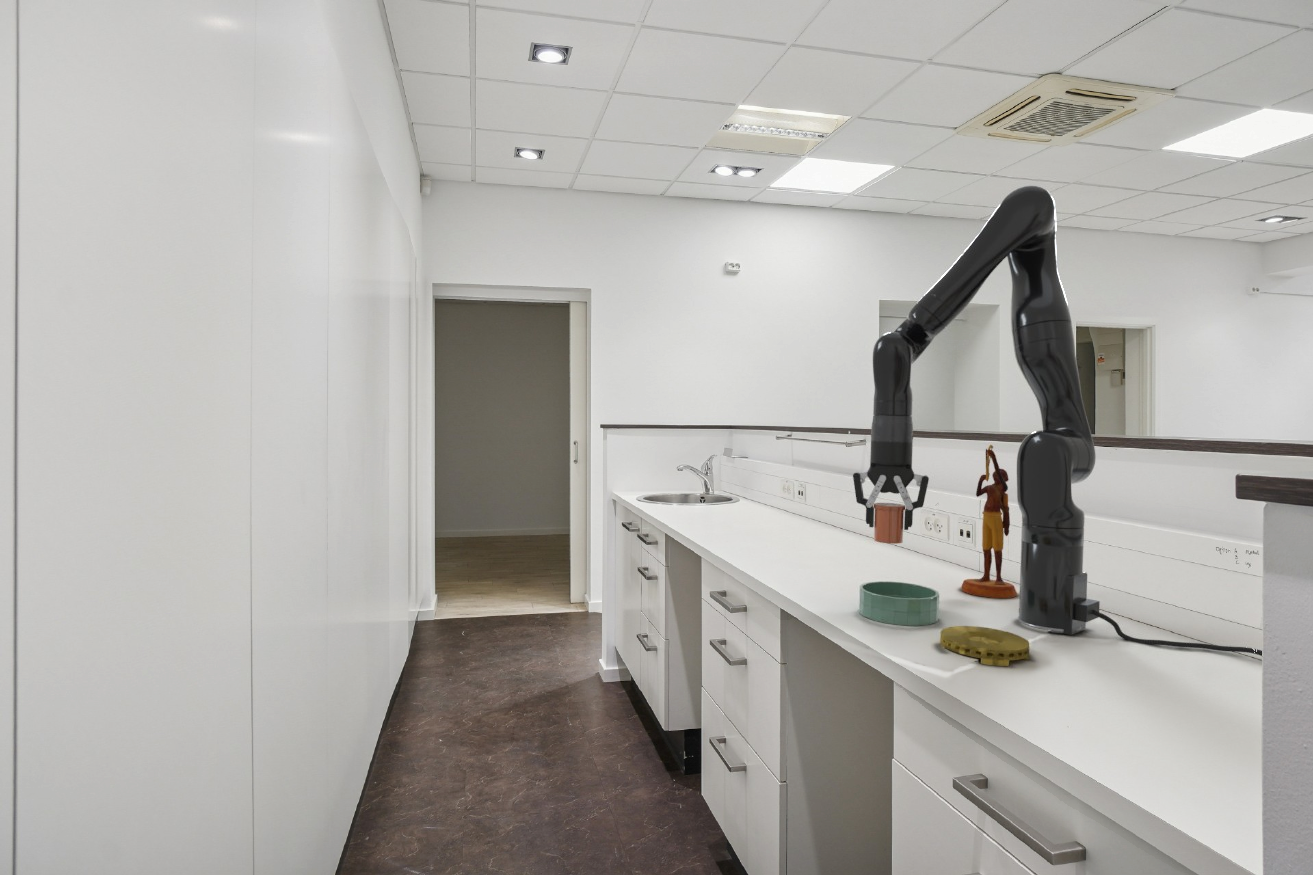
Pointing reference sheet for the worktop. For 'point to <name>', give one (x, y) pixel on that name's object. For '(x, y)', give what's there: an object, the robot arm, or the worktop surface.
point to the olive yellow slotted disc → (985, 644)
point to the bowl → (899, 603)
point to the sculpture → (992, 533)
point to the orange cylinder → (888, 522)
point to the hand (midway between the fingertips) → (888, 527)
